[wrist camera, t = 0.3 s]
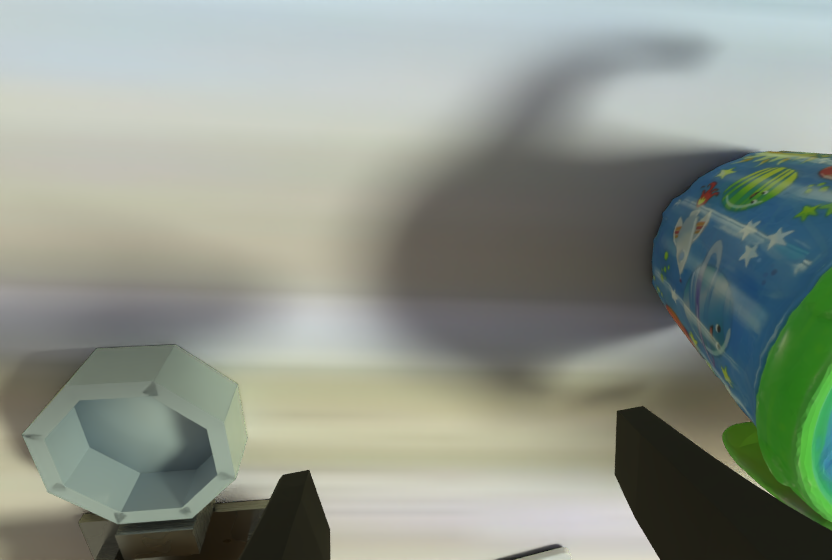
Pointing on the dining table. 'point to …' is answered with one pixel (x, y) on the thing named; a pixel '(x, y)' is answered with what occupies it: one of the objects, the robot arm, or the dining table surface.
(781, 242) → the snack cup
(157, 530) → the fulcrum
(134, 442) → the grey octagonal bowl
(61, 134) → the dining table surface
